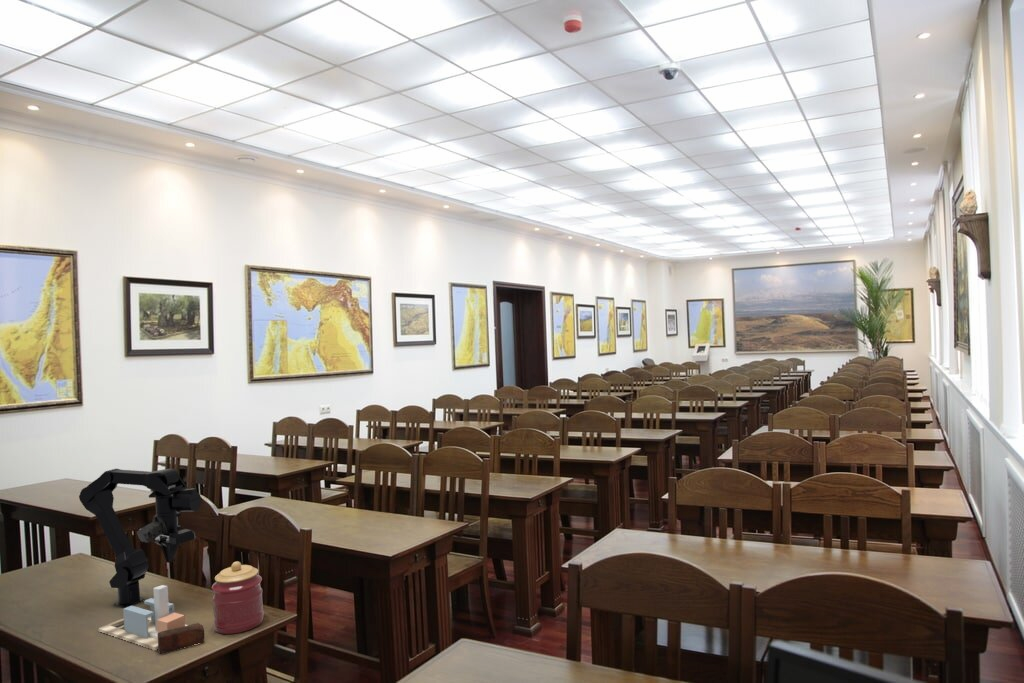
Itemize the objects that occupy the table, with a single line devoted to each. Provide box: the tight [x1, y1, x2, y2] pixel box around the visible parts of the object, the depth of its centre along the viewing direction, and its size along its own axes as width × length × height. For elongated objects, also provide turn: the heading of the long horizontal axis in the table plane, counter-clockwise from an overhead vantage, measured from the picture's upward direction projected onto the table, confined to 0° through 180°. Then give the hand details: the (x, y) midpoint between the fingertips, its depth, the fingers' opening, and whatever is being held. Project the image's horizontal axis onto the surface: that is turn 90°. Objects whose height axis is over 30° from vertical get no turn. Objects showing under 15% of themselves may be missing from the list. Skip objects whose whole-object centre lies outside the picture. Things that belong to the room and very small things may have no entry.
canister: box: [211, 560, 265, 635], centre depth 183 cm, size 13×13×18 cm
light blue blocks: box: [123, 597, 175, 639], centre depth 181 cm, size 10×8×6 cm
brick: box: [157, 622, 205, 655], centre depth 172 cm, size 11×4×5 cm, turn 124°
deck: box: [97, 616, 189, 651], centre depth 181 cm, size 27×12×1 cm, turn 60°
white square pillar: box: [148, 584, 186, 639], centre depth 176 cm, size 9×6×12 cm, turn 60°
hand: (169, 561), depth 201 cm, fingers closed
